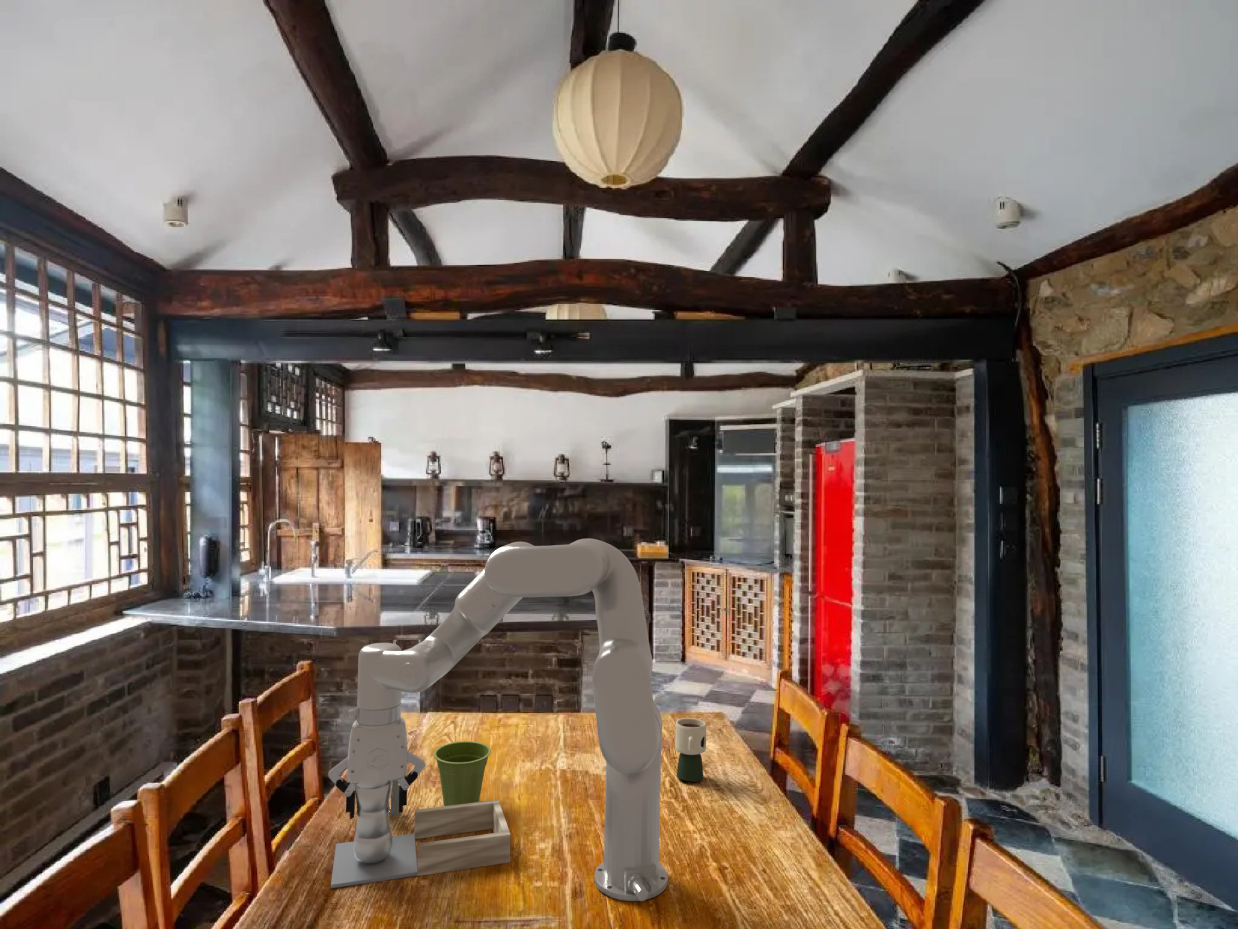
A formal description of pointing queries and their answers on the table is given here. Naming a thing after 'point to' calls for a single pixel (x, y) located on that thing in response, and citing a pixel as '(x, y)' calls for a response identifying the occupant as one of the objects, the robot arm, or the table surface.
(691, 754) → the character mug
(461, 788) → the plant pot
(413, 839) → the tile
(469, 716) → the table surface
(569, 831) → the table surface
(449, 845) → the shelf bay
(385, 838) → the plastic bottle
